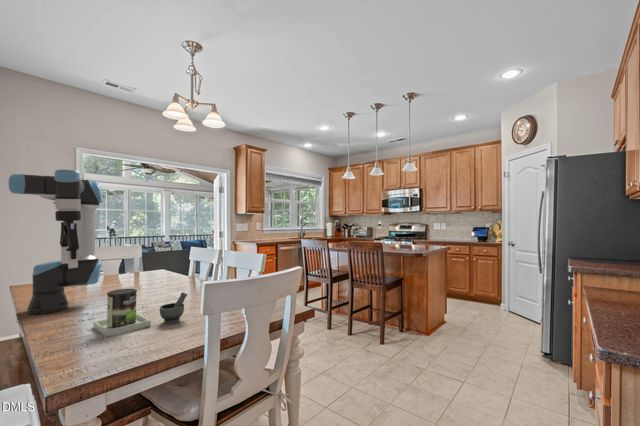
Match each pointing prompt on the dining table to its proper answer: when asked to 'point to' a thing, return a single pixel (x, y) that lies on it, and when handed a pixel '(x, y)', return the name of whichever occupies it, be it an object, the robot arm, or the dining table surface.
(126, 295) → the coffee can
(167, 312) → the mortar and pestle
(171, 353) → the dining table surface
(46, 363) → the dining table surface
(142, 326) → the tray
